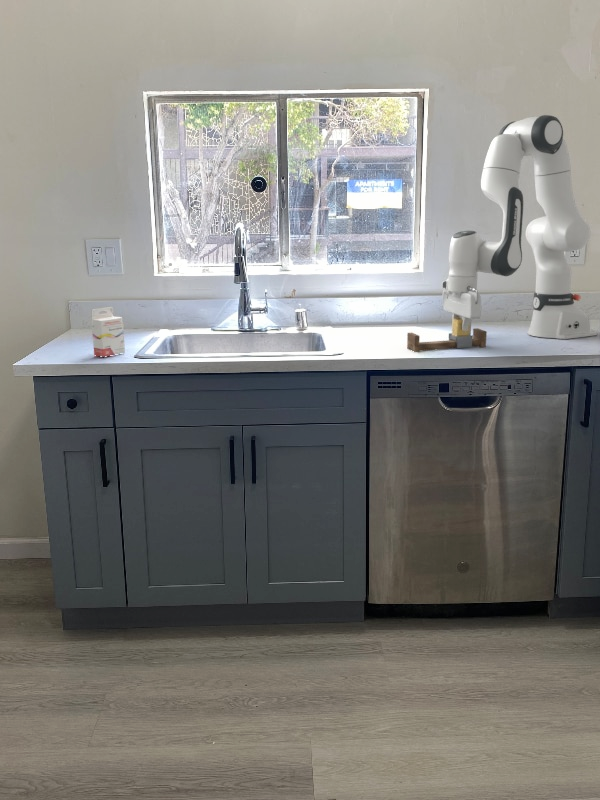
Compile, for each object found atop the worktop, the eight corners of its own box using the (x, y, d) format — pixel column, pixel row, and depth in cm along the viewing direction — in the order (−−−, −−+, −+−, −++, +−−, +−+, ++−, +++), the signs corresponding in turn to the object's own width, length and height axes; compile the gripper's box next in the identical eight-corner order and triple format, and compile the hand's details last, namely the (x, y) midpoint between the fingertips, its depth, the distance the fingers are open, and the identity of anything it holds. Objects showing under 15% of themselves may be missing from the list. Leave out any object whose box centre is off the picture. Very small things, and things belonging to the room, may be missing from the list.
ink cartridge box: (103, 358, 225) (99, 310, 221) (93, 356, 228) (89, 309, 224) (126, 353, 231) (122, 307, 227) (116, 352, 234) (112, 306, 230)
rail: (476, 343, 236) (477, 328, 235) (485, 347, 230) (486, 331, 229) (407, 348, 231) (407, 332, 229) (414, 352, 225) (414, 336, 224)
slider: (462, 343, 235) (463, 316, 233) (472, 347, 229) (473, 319, 227) (448, 344, 234) (449, 317, 232) (457, 348, 228) (458, 320, 226)
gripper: (487, 288, 217) (485, 334, 221) (457, 281, 237) (455, 323, 240) (468, 289, 216) (466, 335, 220) (439, 282, 235) (438, 324, 239)
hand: (460, 329), depth 230 cm, fingers closed on slider, 3 cm apart
